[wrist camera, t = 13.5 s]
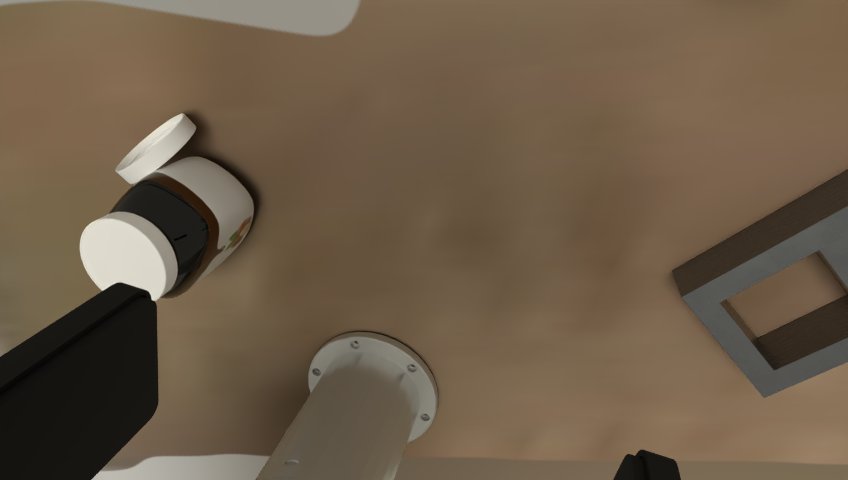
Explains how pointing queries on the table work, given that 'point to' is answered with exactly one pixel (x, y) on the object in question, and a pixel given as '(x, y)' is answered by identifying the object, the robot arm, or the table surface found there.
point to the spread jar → (167, 218)
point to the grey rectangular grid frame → (762, 257)
